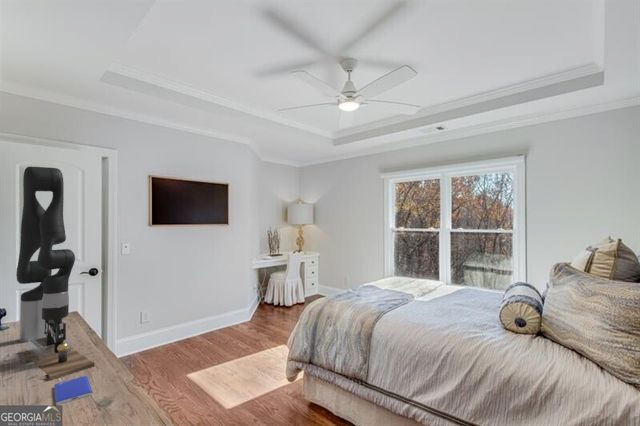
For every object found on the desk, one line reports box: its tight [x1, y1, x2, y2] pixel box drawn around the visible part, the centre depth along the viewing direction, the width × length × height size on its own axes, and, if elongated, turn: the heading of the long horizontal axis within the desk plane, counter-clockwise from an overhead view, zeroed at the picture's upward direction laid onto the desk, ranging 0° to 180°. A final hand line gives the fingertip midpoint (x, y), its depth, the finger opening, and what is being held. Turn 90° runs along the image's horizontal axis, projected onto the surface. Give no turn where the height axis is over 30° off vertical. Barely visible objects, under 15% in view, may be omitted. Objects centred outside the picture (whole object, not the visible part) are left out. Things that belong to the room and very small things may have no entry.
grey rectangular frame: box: [27, 336, 72, 360], centre depth 119 cm, size 14×9×4 cm, turn 55°
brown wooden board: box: [22, 347, 95, 381], centre depth 114 cm, size 32×12×1 cm, turn 55°
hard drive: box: [53, 375, 93, 406], centre depth 94 cm, size 2×8×12 cm
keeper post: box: [57, 343, 69, 363], centre depth 110 cm, size 3×3×6 cm
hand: (54, 349), depth 115 cm, fingers open, 8 cm apart
